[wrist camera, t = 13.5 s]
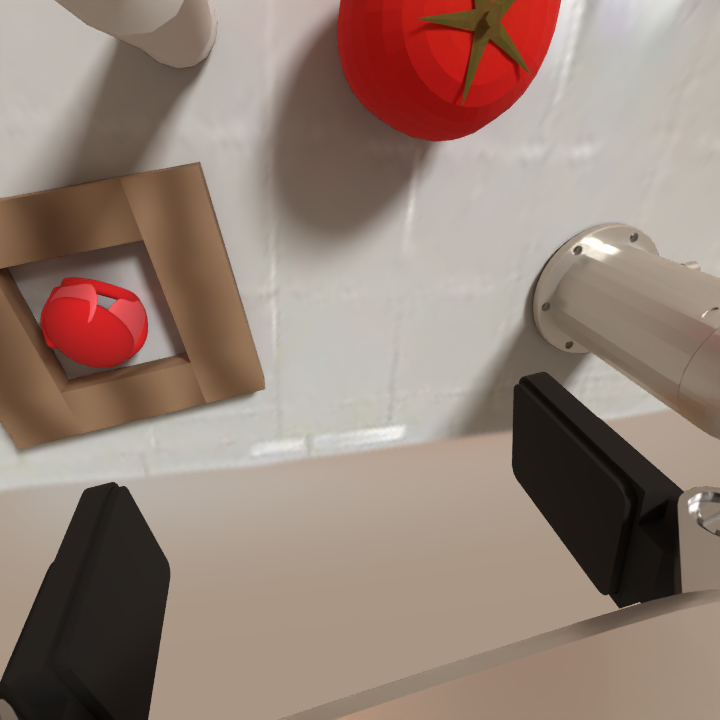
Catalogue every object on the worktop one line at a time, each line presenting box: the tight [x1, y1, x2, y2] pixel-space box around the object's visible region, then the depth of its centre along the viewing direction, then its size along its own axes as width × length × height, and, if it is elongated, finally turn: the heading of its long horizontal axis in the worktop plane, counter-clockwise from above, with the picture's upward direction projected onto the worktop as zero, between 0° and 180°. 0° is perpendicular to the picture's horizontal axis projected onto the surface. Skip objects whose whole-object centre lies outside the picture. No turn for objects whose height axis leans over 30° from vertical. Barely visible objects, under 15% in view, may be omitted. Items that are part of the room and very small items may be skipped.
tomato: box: [337, 0, 561, 141], centre depth 26 cm, size 12×12×13 cm
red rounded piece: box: [41, 278, 148, 368], centre depth 34 cm, size 8×6×6 cm
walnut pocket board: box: [0, 162, 265, 449], centre depth 35 cm, size 20×18×2 cm
